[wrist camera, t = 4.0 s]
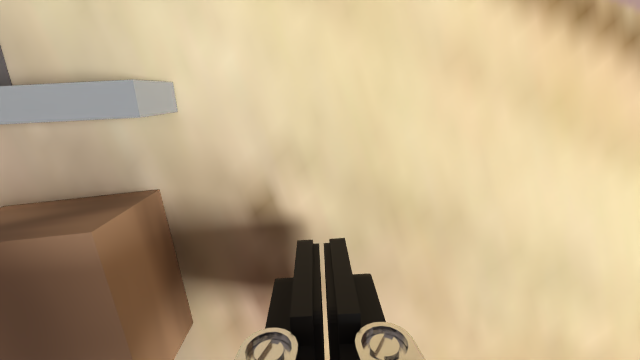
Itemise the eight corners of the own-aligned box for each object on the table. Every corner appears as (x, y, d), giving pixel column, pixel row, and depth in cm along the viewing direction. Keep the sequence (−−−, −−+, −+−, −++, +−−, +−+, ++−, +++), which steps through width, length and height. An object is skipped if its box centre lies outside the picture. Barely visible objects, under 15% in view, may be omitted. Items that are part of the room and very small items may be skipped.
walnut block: (161, 188, 12) (91, 232, 8) (194, 319, 14) (148, 407, 10) (8, 204, 12) (-130, 255, 9) (59, 333, 14) (-39, 425, 10)
